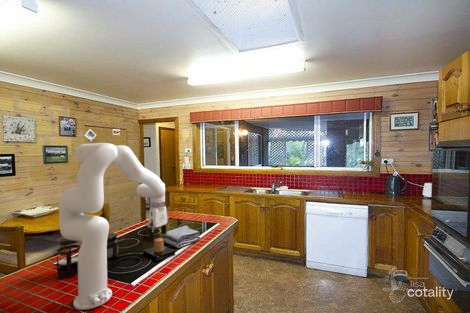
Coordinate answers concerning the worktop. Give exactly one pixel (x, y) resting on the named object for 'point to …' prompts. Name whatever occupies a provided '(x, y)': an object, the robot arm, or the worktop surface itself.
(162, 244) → the oak knob
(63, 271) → the french press
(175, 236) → the towel
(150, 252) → the panel
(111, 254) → the supplement container
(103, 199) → the robot arm
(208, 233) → the worktop surface
